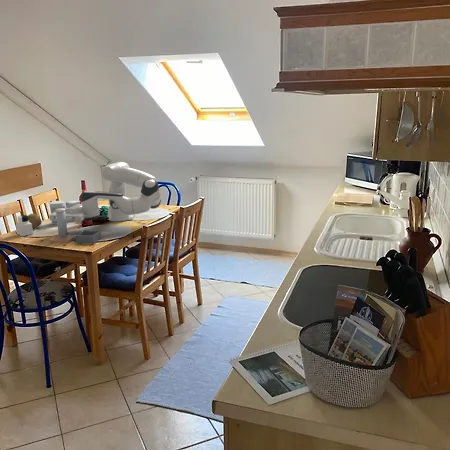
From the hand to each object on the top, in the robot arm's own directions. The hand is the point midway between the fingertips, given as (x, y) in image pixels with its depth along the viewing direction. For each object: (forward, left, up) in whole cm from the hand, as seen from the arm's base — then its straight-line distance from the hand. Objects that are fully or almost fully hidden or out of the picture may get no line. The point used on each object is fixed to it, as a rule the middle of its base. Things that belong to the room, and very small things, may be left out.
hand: (60, 220), depth 256 cm
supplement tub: (-35, -21, -12) cm, 43 cm away
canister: (-1, 0, -9) cm, 10 cm away
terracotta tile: (-1, 0, -12) cm, 12 cm away
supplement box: (-47, -16, -12) cm, 51 cm away
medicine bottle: (-8, -29, -12) cm, 32 cm away
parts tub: (-1, +16, -12) cm, 20 cm away
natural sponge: (-21, -31, -12) cm, 39 cm away
